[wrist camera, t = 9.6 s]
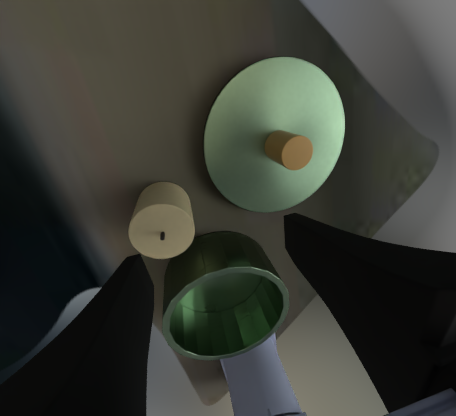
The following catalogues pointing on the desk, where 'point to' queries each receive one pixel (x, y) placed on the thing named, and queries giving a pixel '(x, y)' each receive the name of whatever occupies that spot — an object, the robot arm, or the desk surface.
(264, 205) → the tin lid
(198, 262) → the tin
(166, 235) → the candle
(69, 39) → the desk surface
